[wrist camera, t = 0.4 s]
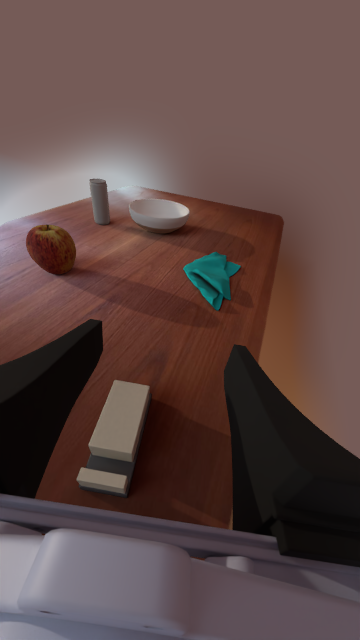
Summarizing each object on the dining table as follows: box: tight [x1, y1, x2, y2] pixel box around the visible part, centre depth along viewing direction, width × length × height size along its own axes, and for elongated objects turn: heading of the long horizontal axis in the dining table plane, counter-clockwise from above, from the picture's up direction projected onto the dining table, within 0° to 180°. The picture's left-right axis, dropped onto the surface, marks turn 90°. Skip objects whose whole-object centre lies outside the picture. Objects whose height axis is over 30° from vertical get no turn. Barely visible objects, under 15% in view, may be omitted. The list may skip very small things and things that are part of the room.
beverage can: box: [90, 179, 110, 225], centre depth 70 cm, size 5×5×12 cm
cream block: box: [77, 380, 152, 498], centre depth 25 cm, size 11×5×4 cm, turn 173°
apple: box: [26, 225, 76, 274], centre depth 48 cm, size 9×9×10 cm
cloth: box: [183, 252, 241, 310], centre depth 56 cm, size 26×14×2 cm, turn 159°
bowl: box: [129, 199, 190, 233], centre depth 75 cm, size 20×20×6 cm
